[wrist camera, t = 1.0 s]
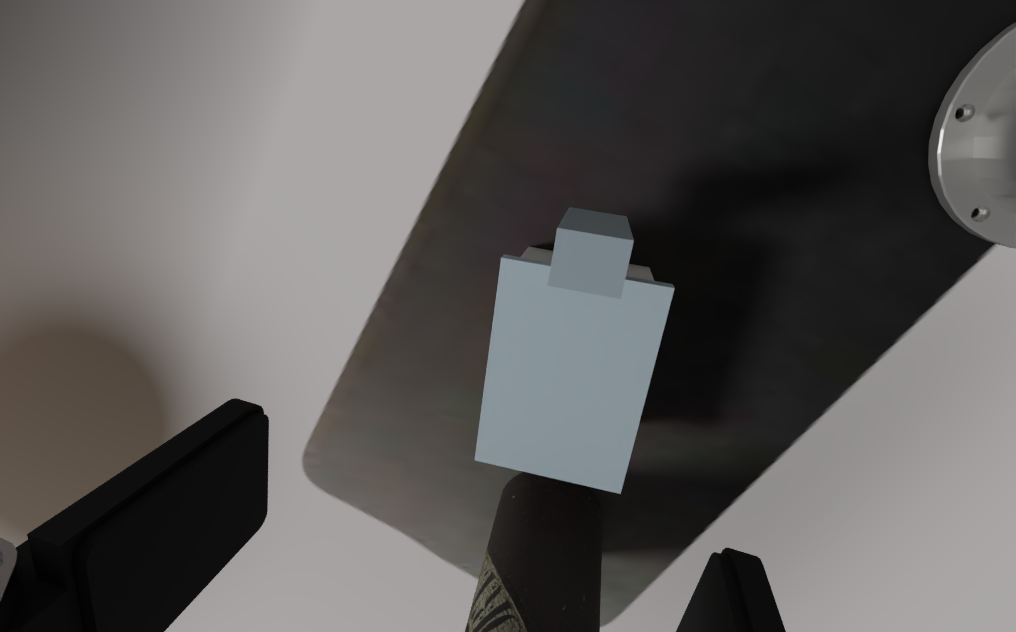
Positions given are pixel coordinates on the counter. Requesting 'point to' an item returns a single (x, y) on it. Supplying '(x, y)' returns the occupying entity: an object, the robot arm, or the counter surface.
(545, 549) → the container
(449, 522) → the counter surface
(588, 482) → the lid
